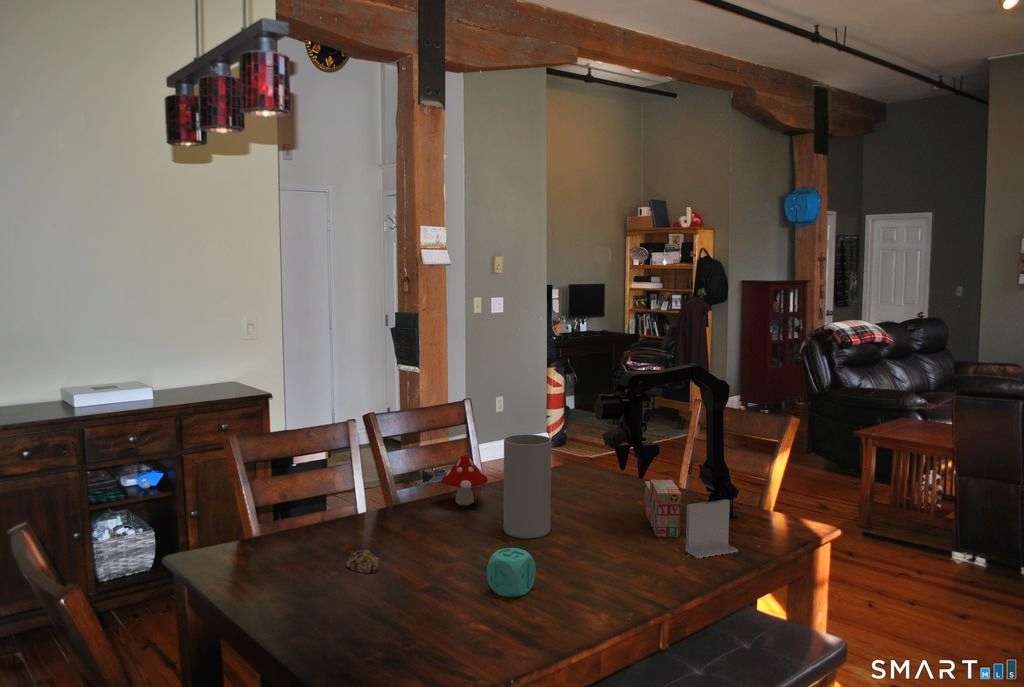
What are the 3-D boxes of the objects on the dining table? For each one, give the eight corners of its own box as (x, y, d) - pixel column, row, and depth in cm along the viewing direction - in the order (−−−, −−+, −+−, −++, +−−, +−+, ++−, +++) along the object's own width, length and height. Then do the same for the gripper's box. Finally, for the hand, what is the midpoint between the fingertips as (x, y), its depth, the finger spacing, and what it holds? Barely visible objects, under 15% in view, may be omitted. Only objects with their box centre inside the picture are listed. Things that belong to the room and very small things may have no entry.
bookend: (725, 545, 195) (726, 499, 194) (737, 551, 190) (739, 505, 189) (685, 551, 190) (687, 504, 189) (697, 558, 186) (699, 510, 184)
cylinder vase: (496, 535, 201) (496, 442, 198) (513, 521, 212) (514, 433, 210) (540, 542, 196) (541, 446, 194) (556, 527, 208) (557, 436, 205)
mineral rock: (337, 554, 182) (368, 539, 185) (342, 570, 183) (373, 555, 187) (354, 570, 173) (386, 554, 177) (359, 587, 174) (391, 571, 178)
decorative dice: (517, 600, 162) (517, 563, 161) (485, 592, 166) (486, 556, 165) (536, 587, 168) (536, 552, 168) (505, 579, 173) (505, 545, 172)
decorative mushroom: (486, 512, 220) (486, 461, 218) (438, 512, 220) (438, 461, 219) (488, 498, 234) (489, 450, 232) (443, 497, 234) (443, 449, 233)
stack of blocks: (643, 512, 222) (644, 470, 220) (665, 512, 222) (666, 470, 220) (656, 537, 200) (657, 492, 199) (680, 538, 200) (681, 492, 199)
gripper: (589, 414, 213) (589, 469, 214) (625, 426, 195) (624, 486, 197) (624, 411, 217) (623, 465, 218) (662, 423, 200) (660, 481, 201)
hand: (631, 474), depth 209 cm, fingers open, 9 cm apart
